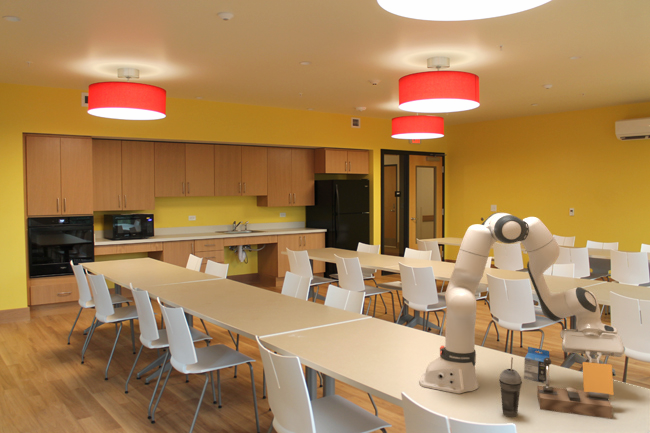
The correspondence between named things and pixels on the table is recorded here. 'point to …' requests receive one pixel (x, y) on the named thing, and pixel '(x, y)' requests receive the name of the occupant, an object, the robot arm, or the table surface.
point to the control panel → (573, 402)
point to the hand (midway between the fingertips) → (594, 364)
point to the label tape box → (535, 364)
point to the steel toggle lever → (547, 376)
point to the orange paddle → (598, 379)
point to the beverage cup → (510, 391)
